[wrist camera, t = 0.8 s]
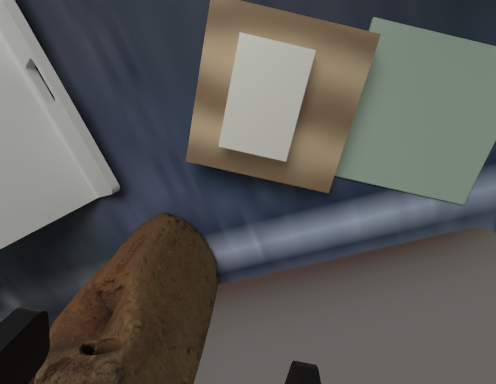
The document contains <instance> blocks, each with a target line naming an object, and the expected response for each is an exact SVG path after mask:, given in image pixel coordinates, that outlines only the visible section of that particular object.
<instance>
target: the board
mask: <svg viewBox="0 0 496 384" xmlns="http://www.w3.org/2000/svg"><path fill="white" fill-rule="evenodd" d="M240 32H241V33H246V34H250V35H254V36H258V37H263V38H267V39H271V40H275V41H280V42H284V43H288V44H292V45H297V46H301V47H305V48H309V49H313V50H316V52H315V56H314V59H313V63H312V67H311V71H310V74H309V78H308V82H307V86H306V89H305V93H304V97H303V101H302V104H301V108H300V112H299V115H298V119H297V123H296V127H295V130H294V134H293V138H292V142H291V145H290V149H289V153H288V157H287V160H286V162H285V161H280V160H276V159H271V158H267V157H263V156H258V155H254V154H249V153H245V152H240V151H236V150H232V149H227V148H223V147H218V146H219V140H220V135H221V130H222V124H223V119H224V114H225V108H226V103H227V98H228V92H229V87H230V82H231V76H232V71H233V65H234V60H235V55H236V49H237V44H238V39H239V33H240ZM380 35H381V34H379V33H374V32H370V31H366V30H362V29H358V28H353V27H349V26H345V25H341V24H337V23H332V22H328V21H324V20H320V19H316V18H311V17H307V16H303V15H299V14H295V13H290V12H286V11H282V10H278V9H274V8H270V7H265V6H261V5H257V4H253V3H249V2H244V1H240V0H210V6H209V12H208V19H207V25H206V32H205V38H204V45H203V51H202V58H201V65H200V71H199V78H198V84H197V91H196V97H195V104H194V111H193V117H192V124H191V130H190V137H189V143H188V150H187V156H186V161H187V162H191V163H196V164H200V165H205V166H209V167H214V168H218V169H222V170H227V171H231V172H236V173H240V174H245V175H249V176H254V177H258V178H262V179H267V180H271V181H276V182H280V183H285V184H289V185H294V186H298V187H303V188H307V189H311V190H316V191H320V192H325V193H329V191H330V188H331V184H332V181H333V178H334V175H335V172H336V169H337V166H338V163H339V160H340V157H341V154H342V151H343V148H344V145H345V142H346V139H347V136H348V133H349V130H350V127H351V124H352V121H353V117H354V114H355V111H356V108H357V105H358V102H359V99H360V96H361V93H362V90H363V87H364V84H365V81H366V78H367V75H368V72H369V69H370V66H371V63H372V60H373V57H374V54H375V50H376V47H377V44H378V41H379V38H380Z"/></svg>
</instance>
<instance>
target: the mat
mask: <svg viewBox="0 0 496 384" xmlns="http://www.w3.org/2000/svg"><path fill="white" fill-rule="evenodd" d="M369 31H370V32H374V33H379V34H381V35H380V38H379V41H378V44H377V47H376V50H375V54H374V57H373V60H372V63H371V66H370V69H369V72H368V75H367V78H366V81H365V84H364V87H363V90H362V93H361V96H360V99H359V102H358V105H357V108H356V111H355V114H354V117H353V121H352V124H351V127H350V130H349V133H348V136H347V139H346V142H345V145H344V148H343V151H342V154H341V157H340V160H339V163H338V166H337V169H336V172H335V175H334V176H338V177H343V178H347V179H351V180H356V181H360V182H365V183H369V184H373V185H378V186H382V187H387V188H391V189H396V190H400V191H404V192H409V193H413V194H418V195H422V196H426V197H431V198H435V199H440V200H444V201H449V202H453V203H457V204H462V205H464V203H465V201H466V199H467V197H468V195H469V193H470V191H471V189H472V187H473V185H474V183H475V181H476V179H477V177H478V175H479V173H480V171H481V169H482V167H483V165H484V163H485V161H486V159H487V157H488V155H489V153H490V151H491V149H492V147H493V145H494V143H495V141H496V46H492V45H488V44H484V43H480V42H476V41H471V40H467V39H463V38H459V37H455V36H451V35H446V34H442V33H438V32H434V31H430V30H426V29H421V28H417V27H413V26H409V25H405V24H401V23H396V22H392V21H388V20H384V19H380V18H376V17H373V18H372V21H371V24H370V27H369Z"/></svg>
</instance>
